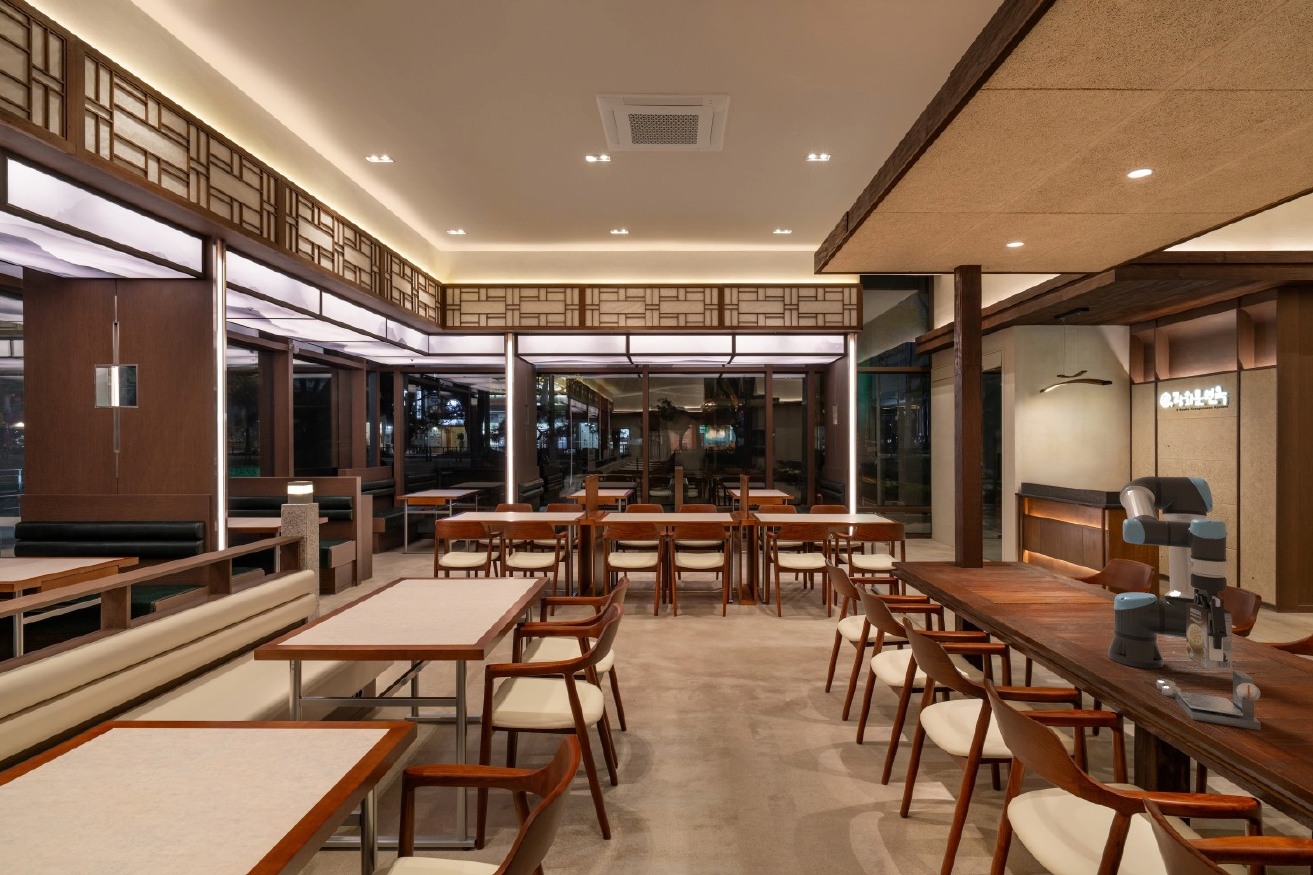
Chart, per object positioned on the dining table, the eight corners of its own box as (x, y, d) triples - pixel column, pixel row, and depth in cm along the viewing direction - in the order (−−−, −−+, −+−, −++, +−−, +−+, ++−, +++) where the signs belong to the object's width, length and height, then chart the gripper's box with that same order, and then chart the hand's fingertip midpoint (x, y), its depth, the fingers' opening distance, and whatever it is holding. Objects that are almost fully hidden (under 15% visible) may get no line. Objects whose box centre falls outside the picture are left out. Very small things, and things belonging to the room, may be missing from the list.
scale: (1175, 699, 179) (1175, 659, 179) (1243, 710, 172) (1243, 667, 172) (1192, 719, 166) (1192, 675, 166) (1266, 731, 159) (1266, 685, 159)
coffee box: (1184, 657, 175) (1184, 601, 175) (1210, 659, 174) (1210, 603, 174) (1206, 669, 166) (1206, 610, 166) (1234, 670, 165) (1233, 611, 165)
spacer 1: (1154, 685, 190) (1154, 677, 190) (1172, 688, 188) (1172, 680, 188) (1159, 690, 186) (1159, 682, 186) (1177, 693, 184) (1177, 685, 184)
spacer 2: (1159, 691, 185) (1159, 683, 185) (1178, 694, 183) (1178, 685, 183) (1164, 696, 181) (1164, 688, 181) (1183, 699, 179) (1183, 691, 179)
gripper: (1177, 566, 182) (1178, 640, 182) (1206, 581, 162) (1206, 664, 161) (1210, 568, 179) (1210, 644, 178) (1243, 584, 158) (1243, 669, 158)
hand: (1208, 654), depth 170 cm, fingers closed on coffee box, 10 cm apart
